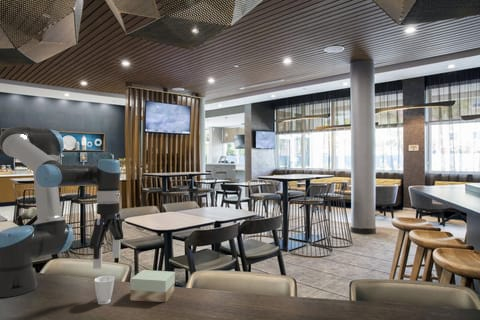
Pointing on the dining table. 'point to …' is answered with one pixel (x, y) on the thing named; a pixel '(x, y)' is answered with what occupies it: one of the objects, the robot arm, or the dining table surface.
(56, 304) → the dining table surface
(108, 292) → the cup
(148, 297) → the bottom block
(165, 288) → the top block
